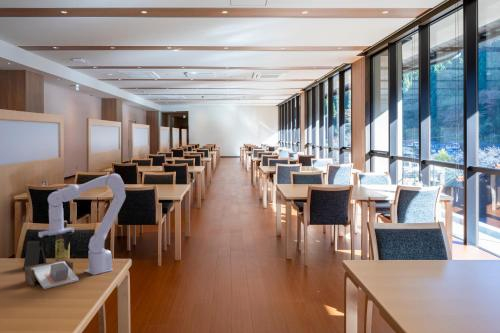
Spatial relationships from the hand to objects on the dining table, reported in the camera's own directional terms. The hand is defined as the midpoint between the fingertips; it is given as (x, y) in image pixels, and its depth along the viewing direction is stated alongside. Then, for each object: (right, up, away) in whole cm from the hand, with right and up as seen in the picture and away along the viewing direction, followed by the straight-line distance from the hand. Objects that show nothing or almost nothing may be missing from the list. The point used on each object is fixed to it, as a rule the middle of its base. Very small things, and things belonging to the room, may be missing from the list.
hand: (57, 251), depth 197 cm
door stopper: (-16, -10, +13) cm, 23 cm away
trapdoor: (+3, -8, -9) cm, 13 cm away
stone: (+5, -9, -11) cm, 15 cm away
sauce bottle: (-6, -10, +20) cm, 23 cm away
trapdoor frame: (-1, -11, -5) cm, 12 cm away
